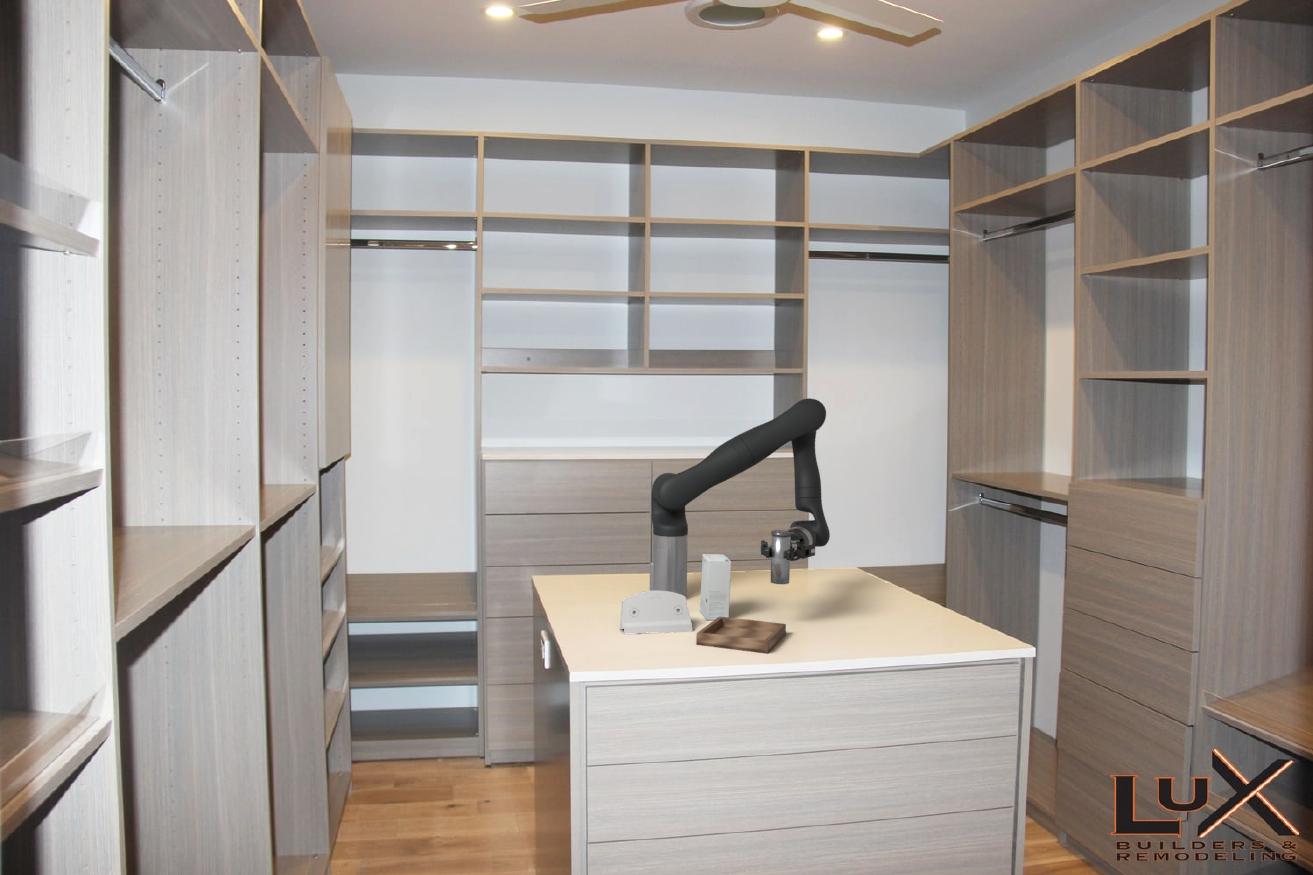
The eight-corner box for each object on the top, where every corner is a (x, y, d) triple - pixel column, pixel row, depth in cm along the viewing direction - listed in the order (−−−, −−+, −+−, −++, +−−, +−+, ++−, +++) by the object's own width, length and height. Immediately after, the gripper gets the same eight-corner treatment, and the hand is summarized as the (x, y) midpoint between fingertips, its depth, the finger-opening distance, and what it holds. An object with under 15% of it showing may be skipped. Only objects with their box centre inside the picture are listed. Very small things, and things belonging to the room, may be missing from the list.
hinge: (623, 635, 205) (620, 590, 208) (619, 636, 209) (616, 593, 212) (694, 631, 209) (690, 587, 211) (689, 633, 213) (685, 590, 216)
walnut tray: (696, 644, 198) (696, 633, 198) (719, 626, 213) (719, 616, 213) (767, 653, 192) (767, 641, 192) (785, 634, 207) (785, 623, 207)
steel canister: (767, 583, 212) (769, 532, 211) (772, 579, 216) (774, 529, 215) (787, 585, 210) (788, 533, 209) (791, 581, 214) (793, 530, 213)
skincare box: (699, 612, 226) (700, 553, 225) (722, 611, 227) (723, 553, 226) (706, 621, 218) (707, 559, 217) (730, 620, 219) (732, 559, 218)
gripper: (767, 526, 228) (748, 536, 212) (823, 530, 223) (808, 541, 207) (766, 555, 229) (747, 567, 213) (822, 560, 223) (807, 573, 207)
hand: (777, 554), depth 210 cm, fingers closed on steel canister, 4 cm apart
